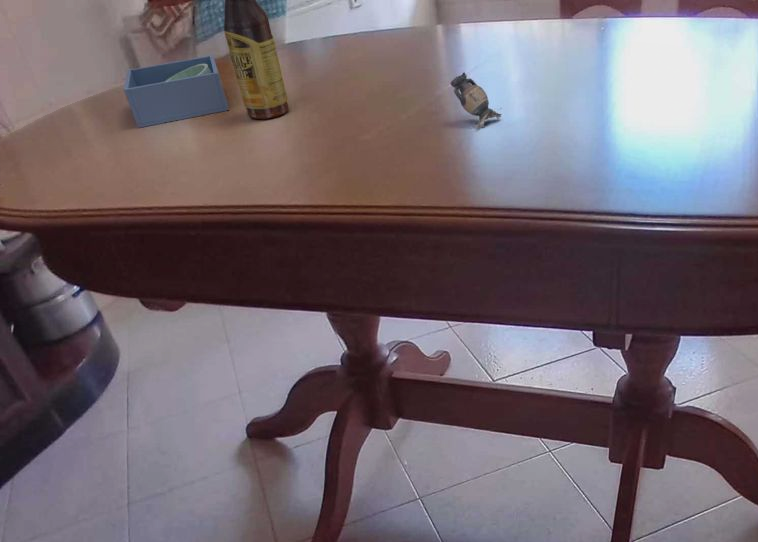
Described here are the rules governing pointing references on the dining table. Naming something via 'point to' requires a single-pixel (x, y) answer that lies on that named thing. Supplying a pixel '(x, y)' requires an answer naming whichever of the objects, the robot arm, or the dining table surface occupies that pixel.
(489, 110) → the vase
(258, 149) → the dining table surface
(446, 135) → the dining table surface
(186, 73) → the mint green bowl
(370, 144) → the dining table surface
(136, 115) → the tub
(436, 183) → the dining table surface
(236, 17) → the sauce bottle
